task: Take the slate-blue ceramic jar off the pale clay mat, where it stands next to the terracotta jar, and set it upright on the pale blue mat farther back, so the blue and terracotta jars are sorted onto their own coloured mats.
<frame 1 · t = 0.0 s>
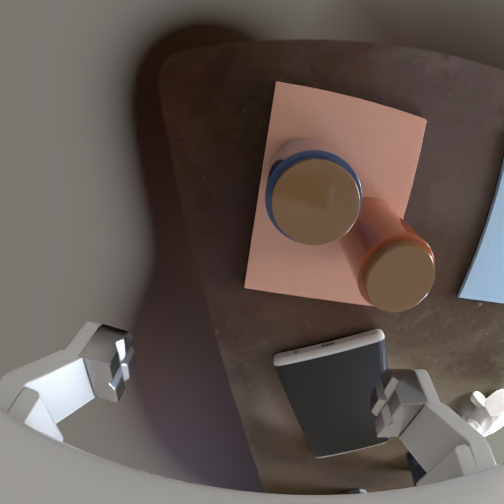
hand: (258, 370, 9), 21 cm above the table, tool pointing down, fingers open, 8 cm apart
ceramic cup: (353, 491, 56), on the table
terracotta jar: (366, 227, 28), resting on clay mat
clay mat: (334, 204, 28), on the table
blue jar: (302, 171, 27), resting on clay mat
white sheep figurine: (476, 401, 41), on the table
small box: (423, 456, 49), on the table
smartphone: (342, 403, 40), on the table
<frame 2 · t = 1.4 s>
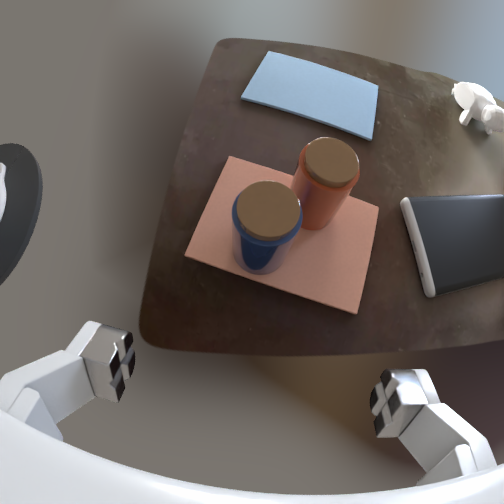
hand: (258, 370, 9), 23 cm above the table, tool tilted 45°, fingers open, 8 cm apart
terracotta jar: (310, 207, 37), resting on clay mat
blue mat: (315, 90, 45), on the table
clay mat: (289, 230, 36), on the table
blue jar: (259, 248, 35), resting on clay mat
white sheep figurine: (470, 120, 47), on the table
smartphone: (477, 239, 38), on the table
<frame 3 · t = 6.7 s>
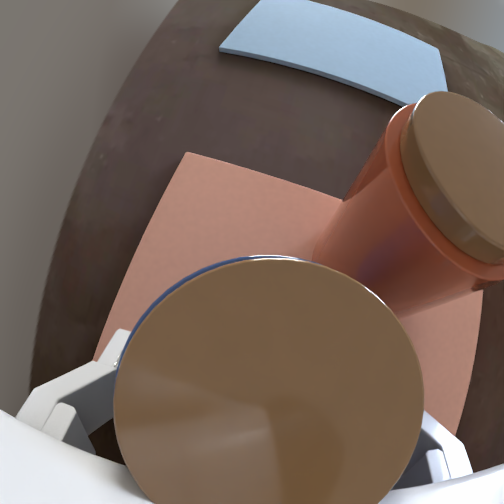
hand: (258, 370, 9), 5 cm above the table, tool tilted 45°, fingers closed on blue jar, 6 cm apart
terracotta jar: (366, 269, 16), resting on clay mat
blue mat: (349, 43, 24), on the table
clay mat: (320, 326, 15), on the table
blue jar: (249, 380, 14), point 1 cm above the table, touching clay mat, gripper
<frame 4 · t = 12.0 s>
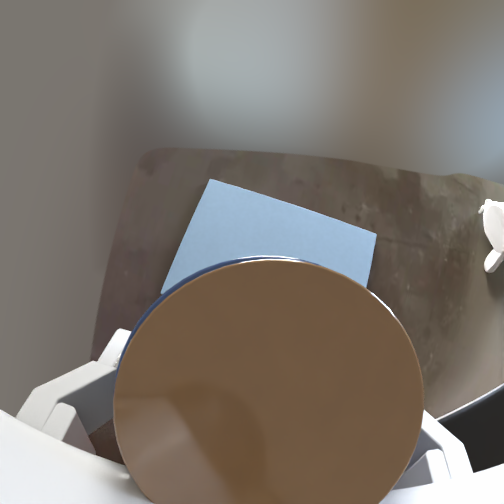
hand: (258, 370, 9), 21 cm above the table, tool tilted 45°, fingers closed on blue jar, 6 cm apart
blue mat: (275, 263, 33), on the table
blue jar: (249, 380, 14), point 17 cm above the table, touching gripper
white sheep figurine: (498, 254, 35), on the table
smartphone: (461, 450, 26), on the table
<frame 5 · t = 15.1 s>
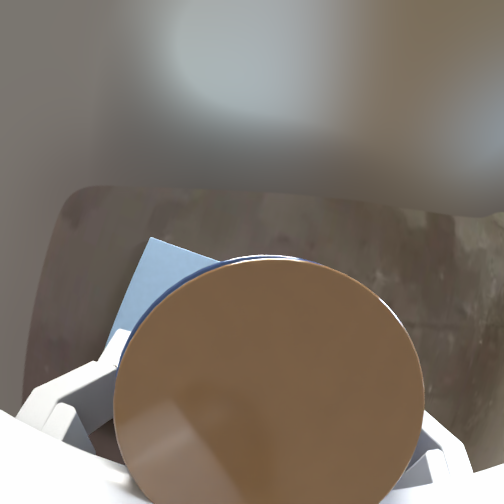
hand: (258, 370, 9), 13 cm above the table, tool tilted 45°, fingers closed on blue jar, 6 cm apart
blue mat: (242, 371, 21), on the table
blue jar: (250, 380, 14), point 8 cm above the table, touching gripper
when the fingers open (5 cm above the table, at t = 17.5 s): blue jar stays where it is, resting on blue mat.
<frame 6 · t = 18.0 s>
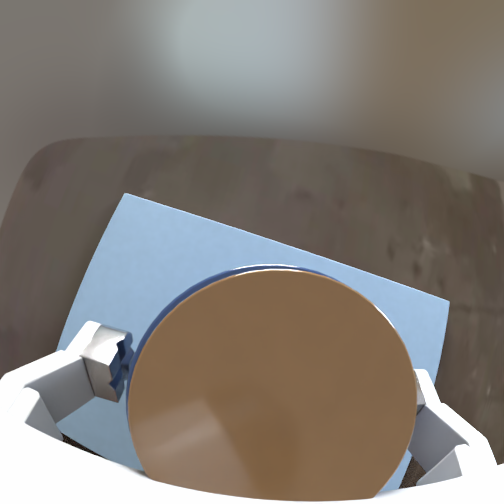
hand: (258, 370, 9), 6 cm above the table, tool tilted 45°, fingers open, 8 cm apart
blue mat: (249, 378, 15), on the table
blue jar: (252, 380, 14), resting on blue mat
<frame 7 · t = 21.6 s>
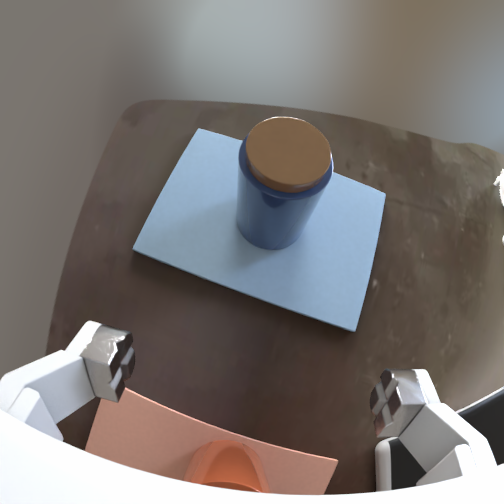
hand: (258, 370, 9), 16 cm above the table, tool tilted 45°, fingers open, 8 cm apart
terracotta jar: (226, 472, 20), resting on clay mat
blue mat: (269, 219, 28), on the table
clay mat: (195, 496, 20), on the table
blue jar: (270, 217, 27), resting on blue mat
smartphone: (479, 450, 21), on the table
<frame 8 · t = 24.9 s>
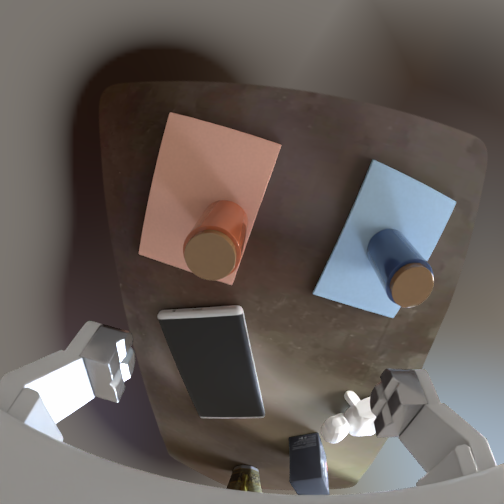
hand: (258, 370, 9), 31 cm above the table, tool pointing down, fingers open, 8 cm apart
ceramic cup: (246, 467, 69), on the table
terracotta jar: (224, 222, 40), resting on clay mat
blue mat: (386, 247, 40), on the table
clay mat: (202, 202, 40), on the table
blue jar: (387, 249, 40), resting on blue mat
white sheep figurine: (354, 402, 55), on the table
small box: (309, 446, 63), on the table
smartphone: (218, 367, 52), on the table
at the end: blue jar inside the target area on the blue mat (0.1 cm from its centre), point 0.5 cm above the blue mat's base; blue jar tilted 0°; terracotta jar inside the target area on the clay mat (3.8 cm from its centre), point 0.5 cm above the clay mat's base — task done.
